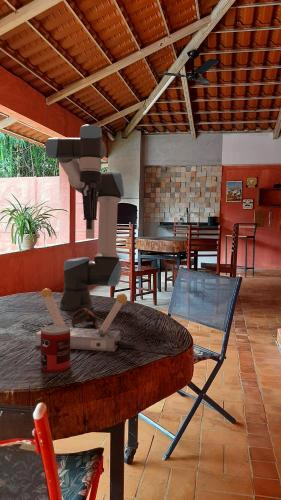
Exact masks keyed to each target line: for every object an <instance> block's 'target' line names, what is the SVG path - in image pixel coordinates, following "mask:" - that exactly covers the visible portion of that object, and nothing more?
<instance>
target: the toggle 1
mask: <svg viewBox="0 0 281 500" xmlns="http://www.w3.org/2000/svg"><path fill="white" fill-rule="evenodd" d="M40 297H41V298H42V299H43V302H44V304H45V306H46V308H47V310H48V314H49V315H50V317H51V319H52V322H53V325H65V326H67V325H66V323H65V320H64V319H63V316H62V314H61V311H60V310H59V307H58V305H57V302H56V300H55V298H54V296H53V291H52V290H51V289H50V288H46V287H45V288H44V289H42V290H41V291H40Z"/></svg>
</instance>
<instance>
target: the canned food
mask: <svg viewBox="0 0 281 500" xmlns="http://www.w3.org/2000/svg"><path fill="white" fill-rule="evenodd" d="M65 325H66V324H65ZM65 325H55V324H52V325H45V326H43V327H41V329H40V331H41V346H40V366H41V369H42V371H44V372H47V373H60V372H64V371H66V370H68V369H69V368H70V366H71V348H70V328H71V327H70V326H68V325H66V326H65Z"/></svg>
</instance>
